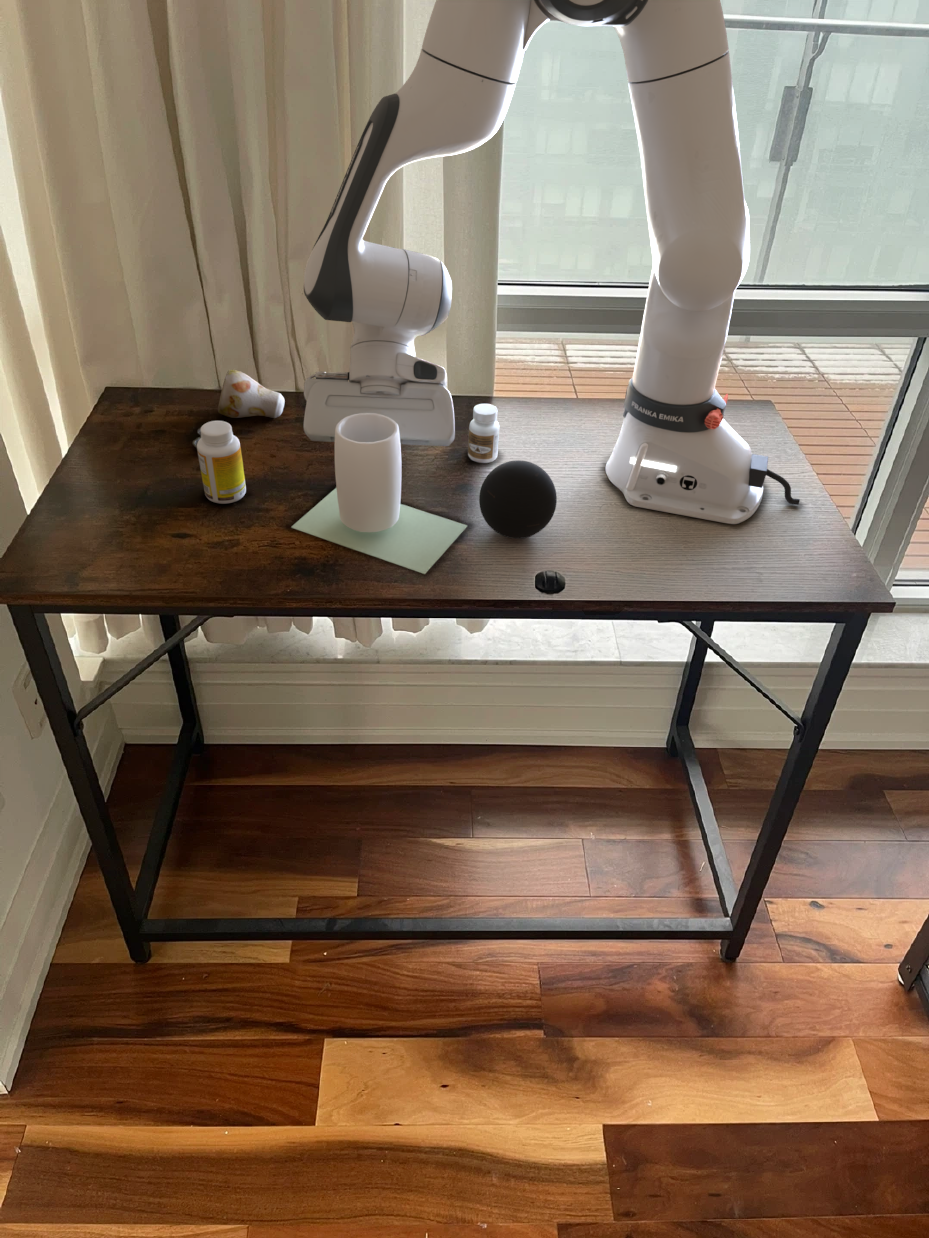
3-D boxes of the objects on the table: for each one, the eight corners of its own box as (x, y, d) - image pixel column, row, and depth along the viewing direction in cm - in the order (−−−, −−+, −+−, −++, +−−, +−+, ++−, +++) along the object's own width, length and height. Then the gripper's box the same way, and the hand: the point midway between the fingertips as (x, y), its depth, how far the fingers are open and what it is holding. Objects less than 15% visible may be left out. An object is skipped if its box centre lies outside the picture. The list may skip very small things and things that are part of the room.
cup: (392, 546, 120) (391, 449, 111) (329, 536, 121) (323, 440, 112) (408, 509, 127) (408, 416, 117) (348, 500, 128) (344, 407, 118)
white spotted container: (288, 429, 142) (248, 381, 135) (237, 445, 146) (196, 400, 139) (297, 395, 146) (259, 347, 139) (247, 412, 150) (208, 366, 143)
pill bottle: (463, 460, 137) (466, 413, 132) (473, 446, 140) (475, 399, 135) (492, 466, 136) (495, 419, 131) (500, 452, 139) (504, 405, 134)
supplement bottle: (254, 489, 129) (246, 423, 122) (232, 509, 125) (222, 442, 118) (219, 479, 130) (210, 413, 124) (196, 499, 126) (185, 432, 120)
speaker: (466, 542, 121) (470, 477, 115) (491, 503, 129) (495, 439, 122) (540, 561, 119) (548, 495, 113) (561, 519, 126) (569, 455, 120)
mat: (467, 526, 125) (467, 525, 124) (424, 574, 116) (424, 573, 116) (340, 485, 131) (340, 484, 131) (290, 528, 123) (290, 527, 122)
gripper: (301, 362, 122) (296, 466, 121) (457, 369, 123) (453, 472, 122) (307, 378, 129) (303, 477, 128) (456, 384, 129) (452, 483, 128)
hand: (378, 475), depth 125 cm, fingers closed
